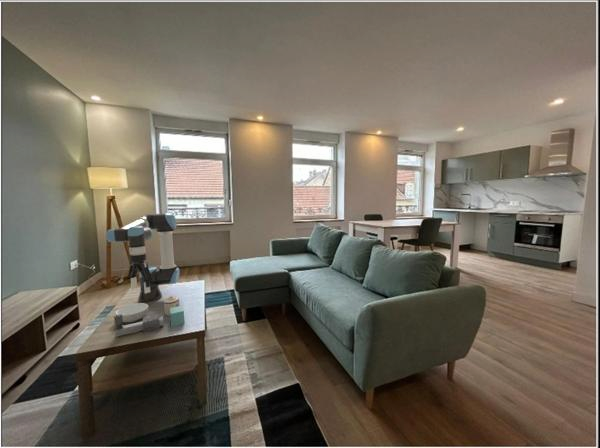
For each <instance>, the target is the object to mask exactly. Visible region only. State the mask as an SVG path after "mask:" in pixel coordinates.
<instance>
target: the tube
mask: <svg viewBox="0 0 600 448" xmlns="http://www.w3.org/2000/svg"><path fill="white" fill-rule="evenodd" d="M113 320H114V336H115V337H120V336H124V335H128V334H131V333H132V334H133V333H137V332H141V331H143V320H142V321H138V322H135V323H134V322H132V323H129V324H125V325H124V322H123V318H122V315H117V316H116V315H115V316H114V317H113ZM159 324H160V327H162V326H164V316H159Z"/></svg>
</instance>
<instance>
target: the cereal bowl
mask: <svg viewBox="0 0 600 448" xmlns="http://www.w3.org/2000/svg"><path fill="white" fill-rule="evenodd" d="M148 312H149V305H148V303H142V302H139V303H132V304H127V305H126V306H122V307H121V308H119V309H117V310H116V311H115V316H117V315H122V318H123V323H134V322H135V323H136V322H137V321H139V320H141V319H143V317H146V316H147V314H148Z"/></svg>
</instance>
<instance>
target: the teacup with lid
mask: <svg viewBox="0 0 600 448" xmlns="http://www.w3.org/2000/svg"><path fill="white" fill-rule="evenodd" d="M177 306H180V298H179V297H177V296H173V294H172V295H169V297H168V298H165V299H164V300H163V307H164V315H165V316H168V317H170V308H173V307H177Z"/></svg>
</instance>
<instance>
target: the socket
mask: <svg viewBox="0 0 600 448" xmlns="http://www.w3.org/2000/svg"><path fill="white" fill-rule="evenodd" d="M169 317H170V318H169V319H170V325H171V327H172V328H173V327H176V326H181V325H184V324H185V310H184V307H183V305H179V306H177V307H173V308H170V316H169Z"/></svg>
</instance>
